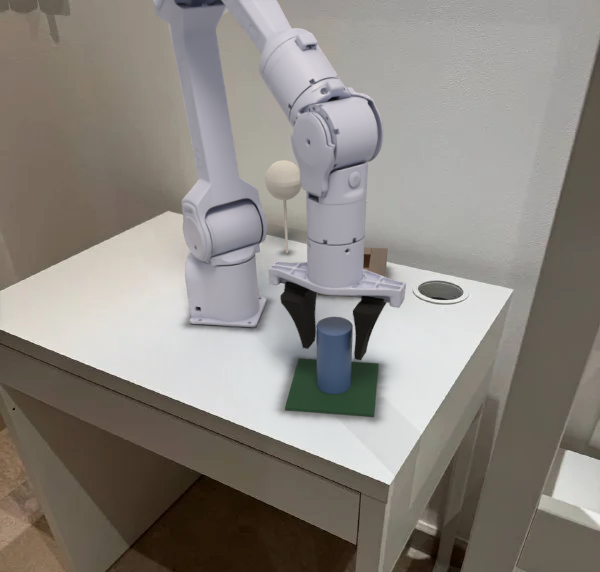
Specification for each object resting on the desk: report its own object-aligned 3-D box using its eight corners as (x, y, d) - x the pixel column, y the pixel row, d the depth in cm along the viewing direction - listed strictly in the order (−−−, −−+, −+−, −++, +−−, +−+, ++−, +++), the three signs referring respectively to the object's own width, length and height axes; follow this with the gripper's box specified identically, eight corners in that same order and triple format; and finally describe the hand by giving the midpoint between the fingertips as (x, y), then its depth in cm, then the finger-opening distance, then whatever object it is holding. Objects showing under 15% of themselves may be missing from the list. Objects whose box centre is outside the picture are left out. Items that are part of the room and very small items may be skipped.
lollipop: (311, 255, 99) (309, 162, 90) (280, 263, 97) (275, 169, 88) (293, 242, 103) (290, 153, 94) (263, 250, 101) (257, 159, 92)
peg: (311, 389, 69) (310, 331, 64) (324, 371, 72) (324, 313, 67) (343, 397, 67) (345, 338, 63) (355, 378, 70) (357, 320, 65)
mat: (285, 410, 67) (284, 407, 66) (298, 360, 74) (298, 358, 74) (374, 417, 65) (374, 414, 65) (378, 365, 73) (378, 363, 73)
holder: (317, 294, 88) (317, 273, 86) (325, 266, 96) (325, 245, 93) (383, 298, 87) (385, 276, 84) (386, 268, 94) (387, 248, 92)
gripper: (418, 229, 59) (406, 344, 67) (286, 211, 63) (290, 320, 72) (398, 257, 54) (388, 378, 62) (256, 235, 58) (264, 350, 67)
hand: (334, 349), depth 67 cm, fingers open, 6 cm apart
